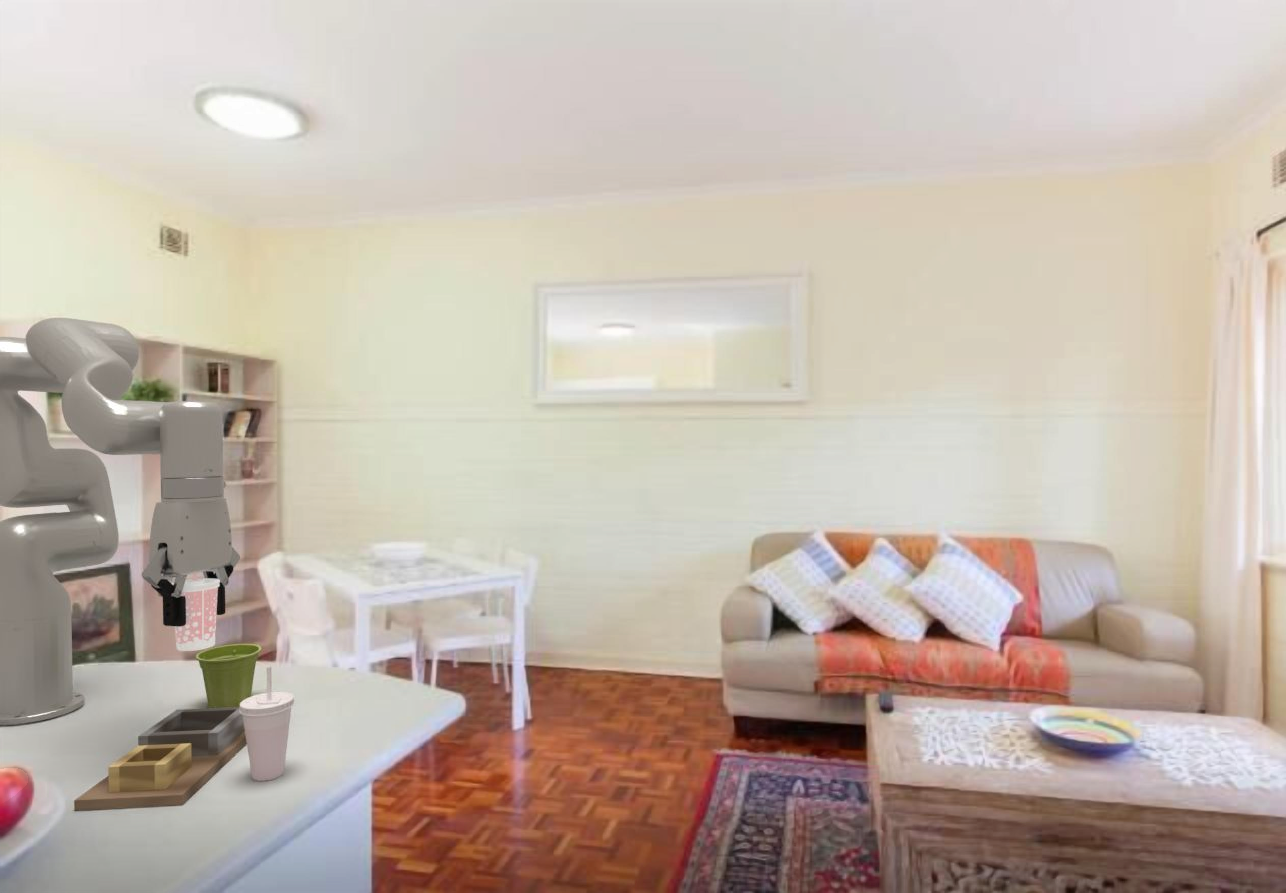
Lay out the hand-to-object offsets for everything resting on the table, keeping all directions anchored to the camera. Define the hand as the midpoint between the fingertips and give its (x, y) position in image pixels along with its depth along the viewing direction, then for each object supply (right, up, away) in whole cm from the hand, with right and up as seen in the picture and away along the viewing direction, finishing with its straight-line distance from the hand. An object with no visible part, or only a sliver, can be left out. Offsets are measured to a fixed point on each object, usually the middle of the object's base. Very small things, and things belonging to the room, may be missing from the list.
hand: (195, 618), depth 106 cm
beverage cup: (0, -4, 0) cm, 4 cm away
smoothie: (+14, -19, -8) cm, 24 cm away
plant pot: (-6, -19, +19) cm, 27 cm away
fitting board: (+1, -18, -5) cm, 19 cm away
